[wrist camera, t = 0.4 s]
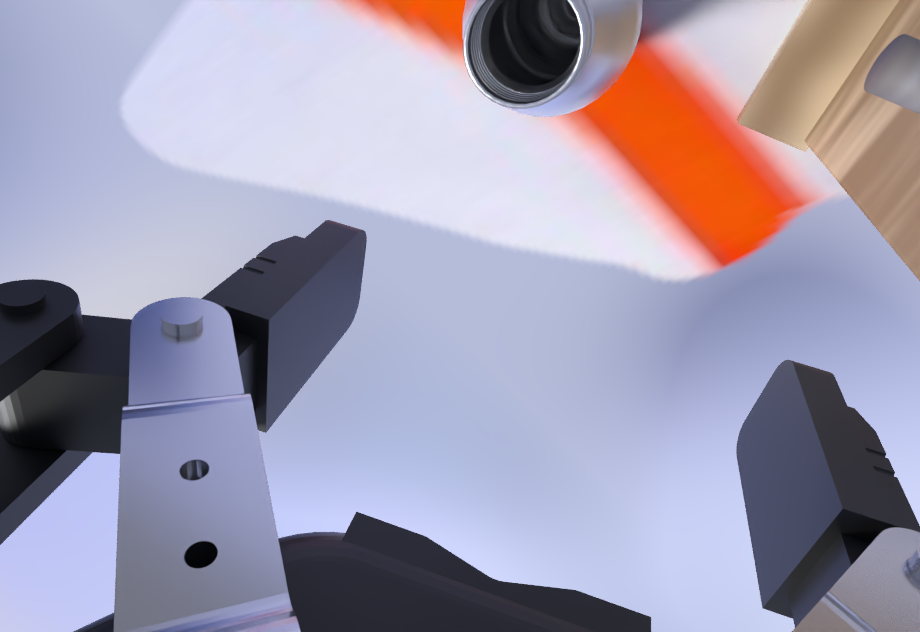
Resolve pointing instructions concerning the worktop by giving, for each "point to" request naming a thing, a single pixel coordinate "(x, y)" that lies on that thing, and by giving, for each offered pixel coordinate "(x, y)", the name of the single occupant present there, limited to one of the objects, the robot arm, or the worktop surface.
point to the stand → (853, 106)
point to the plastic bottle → (548, 50)
